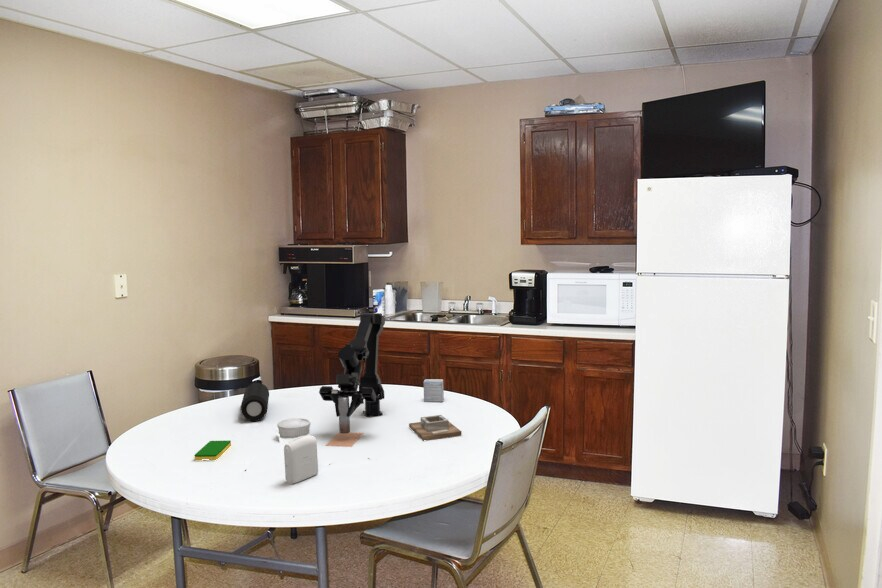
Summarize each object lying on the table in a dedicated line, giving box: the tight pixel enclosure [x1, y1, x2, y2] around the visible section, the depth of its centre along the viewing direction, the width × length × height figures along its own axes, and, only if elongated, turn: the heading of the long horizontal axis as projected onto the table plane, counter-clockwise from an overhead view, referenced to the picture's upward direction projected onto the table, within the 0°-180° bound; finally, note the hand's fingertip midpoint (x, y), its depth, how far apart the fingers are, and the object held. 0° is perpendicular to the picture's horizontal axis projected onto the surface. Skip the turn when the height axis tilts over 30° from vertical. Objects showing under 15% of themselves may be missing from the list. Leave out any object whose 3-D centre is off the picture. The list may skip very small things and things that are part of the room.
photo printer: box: [283, 434, 319, 485], centre depth 193 cm, size 10×4×12 cm, turn 140°
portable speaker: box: [240, 382, 270, 422], centre depth 261 cm, size 26×10×10 cm, turn 13°
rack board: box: [408, 414, 462, 442], centre depth 234 cm, size 16×14×4 cm
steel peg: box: [338, 396, 351, 434], centre depth 222 cm, size 4×4×12 cm
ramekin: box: [276, 417, 311, 438], centre depth 231 cm, size 11×11×5 cm
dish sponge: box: [194, 440, 232, 461], centre depth 217 cm, size 7×14×2 cm, turn 178°
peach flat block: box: [325, 432, 364, 448], centre depth 223 cm, size 14×9×2 cm, turn 170°
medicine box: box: [423, 378, 445, 403], centre depth 274 cm, size 8×4×9 cm, turn 84°
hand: (342, 416), depth 221 cm, fingers closed on steel peg, 4 cm apart
